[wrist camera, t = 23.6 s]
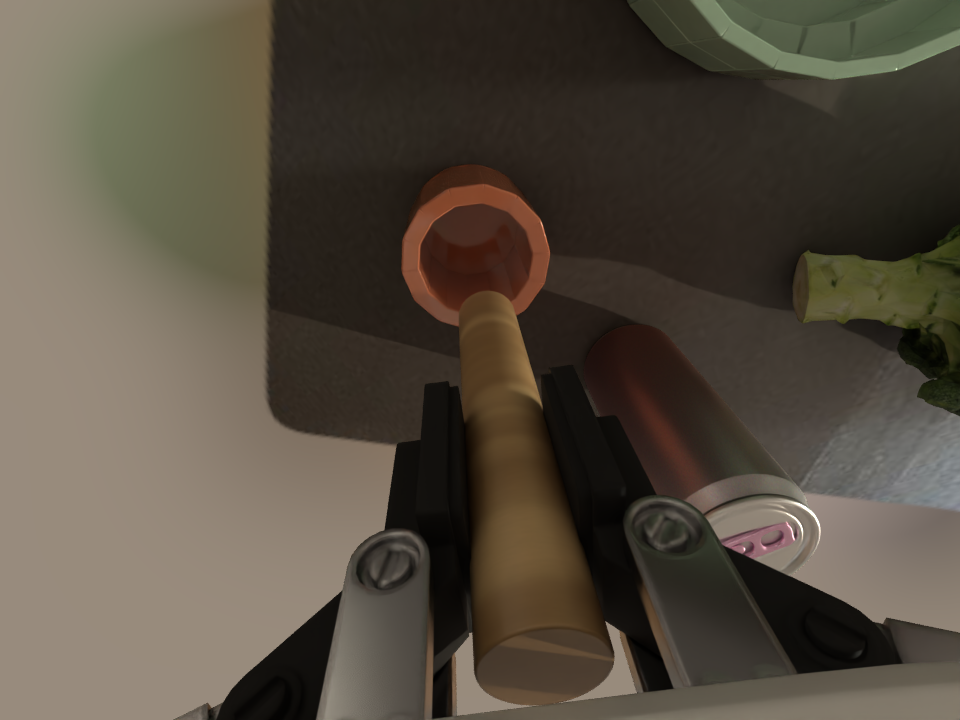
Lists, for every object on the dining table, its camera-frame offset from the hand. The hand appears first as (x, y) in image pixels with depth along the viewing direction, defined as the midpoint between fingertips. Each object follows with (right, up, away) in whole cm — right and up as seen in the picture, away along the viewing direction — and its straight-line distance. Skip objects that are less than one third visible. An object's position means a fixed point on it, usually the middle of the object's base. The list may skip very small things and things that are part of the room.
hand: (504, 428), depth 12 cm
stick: (0, +3, +6) cm, 7 cm away
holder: (-1, +9, +16) cm, 18 cm away
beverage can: (+9, +2, +21) cm, 23 cm away
